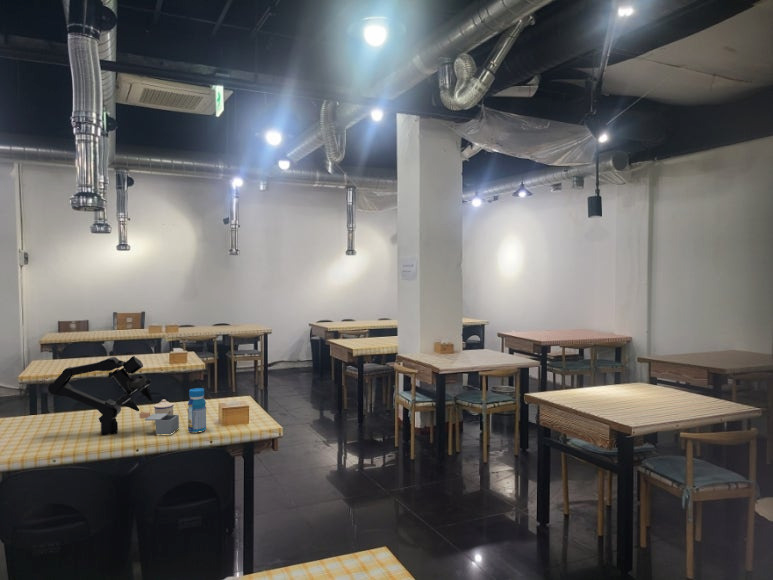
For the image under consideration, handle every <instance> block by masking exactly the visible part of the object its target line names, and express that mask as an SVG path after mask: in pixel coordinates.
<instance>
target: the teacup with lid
mask: <svg viewBox="0 0 773 580" xmlns="http://www.w3.org/2000/svg"><path fill="white" fill-rule="evenodd" d="M153 408H154V414H163V413H168V415H174V403H173V402H169V401H167V400H166V399H161V401H160V402H158V403H156V404H155V405H154V407H153ZM154 424H155V425H156V420H154Z"/></svg>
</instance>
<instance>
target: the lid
mask: <svg viewBox="0 0 773 580" xmlns="http://www.w3.org/2000/svg"><path fill="white" fill-rule="evenodd" d="M167 415H168V413H163V414H155V413H152V414H151V412H150V411H141V412H139V419H144V421H146V422H147V421H148V422H149V421H152V422H153V421H155V420H161V419H163V418H164V417H166V416H167Z"/></svg>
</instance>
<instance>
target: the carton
mask: <svg viewBox="0 0 773 580" xmlns="http://www.w3.org/2000/svg"><path fill="white" fill-rule="evenodd" d="M179 420H180V416H179V414H173V415H167V416H166V417H164V418H163V419H161V420H156V424H155V435H156V434H171V433H173V432H174V431H176V430H177V429H178V428H180V421H179ZM178 430H179V429H178ZM178 430H177V431H178ZM177 431H176V432H177ZM173 434H174V433H173Z"/></svg>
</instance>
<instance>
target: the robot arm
mask: <svg viewBox="0 0 773 580" xmlns="http://www.w3.org/2000/svg"><path fill="white" fill-rule="evenodd" d="M120 368H121V369H120ZM142 368H144V364H143V363H142V361H141V360H140V359H139V358H137V357H136V356H135V355H133V356H131V357H130V358H129V359H128V360H126V361H125V360H120V359H119V358H117V357H116V356H110V357H108V358H105V359H103V360H100V361H97V362H92V363H87V364H81V365H77V366H69V367H66V368H65V369H63V371H62V372H61V373H60V374H59V376H57V377H56V379H54V382H51V383H50V384H49V385H48V387H47V390H48V394H50V395H52V396H57V397H63V398H64V397H65V398H69V399H71V400H74V401H76V402H78V403H80V404H83V405H85V406H88V407H90V408H92V409H95V410H97V411H98V412H99V413H100V414H101V416H99V418H98V420H99V423H100V430H99V433H100V435H101V436H106V435H108V436H109V435H114V434H118V431H119V429H118V428H119V426H118V425H119V423H118V421H117V419H116V418H117V417H118V414H120V413H121V412H122V407H127V408H129V409H132V410H134V411H136V412H139V411H140V409H139V407H138V406H137V404H136V403H135V402H134V400H133V397H131V396H133V395H135V394H136V393H137V392H140V393H141V394H142V395H143V396H144V397H145V398H146V399H147V400H149V401H150V402H153V397H152V394H151V390H150V387H151V383H152V382H153V381H152V380H151V379H150V378H147V376H146V375H145V374H143V373H142V374H140V375H139V376H138V378H137V377H136V378H135V377H134V376H132V377H131V376H130V374H132V375H133V374H135V373H137V372H138V371H140V370H141V369H142ZM93 372H108V376H107V379H112V378H114V379H115V380H116V381H115V382H117V383H118V384H119V386H118V388H119V389H121V388H122V390H123V391H124V394H123V395H122V396H120V397H119V398H117V399H115V400H113V399H111V398H109V399H108V400H102V399H99V398H97V397H94V396H92V395H90V394H88V393H86V392H83V391H81V390H79V389H75V388H74V387H73V386H72V385H71V384H70V383H69V382H70V381H71V379H72V378H73V376H76V375H77V376H78V375H83V374H89V373H93Z"/></svg>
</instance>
